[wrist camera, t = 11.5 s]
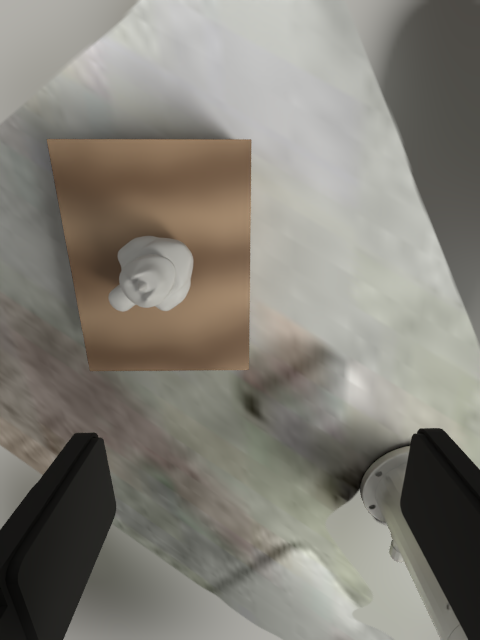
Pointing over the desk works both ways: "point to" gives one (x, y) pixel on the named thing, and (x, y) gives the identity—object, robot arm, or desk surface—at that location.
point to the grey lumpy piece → (152, 274)
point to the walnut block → (163, 222)
